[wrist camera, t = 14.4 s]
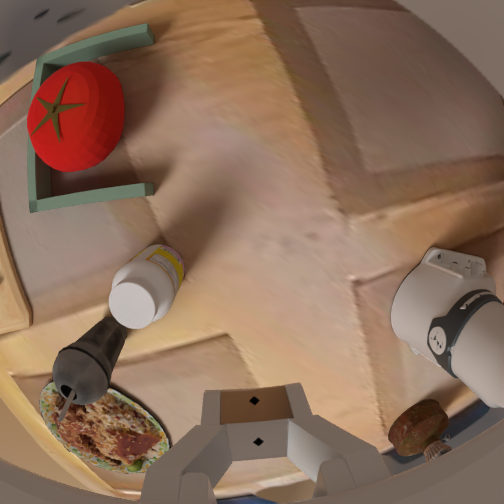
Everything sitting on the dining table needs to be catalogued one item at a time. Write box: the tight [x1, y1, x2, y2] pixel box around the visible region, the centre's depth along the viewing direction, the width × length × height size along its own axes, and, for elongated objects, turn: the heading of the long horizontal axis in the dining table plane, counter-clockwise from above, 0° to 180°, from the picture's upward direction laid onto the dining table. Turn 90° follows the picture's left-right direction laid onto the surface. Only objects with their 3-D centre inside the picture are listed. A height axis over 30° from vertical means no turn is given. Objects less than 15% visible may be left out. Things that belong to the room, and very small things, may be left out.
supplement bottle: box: [109, 245, 185, 329], centre depth 31 cm, size 7×7×13 cm
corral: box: [27, 23, 154, 213], centre depth 30 cm, size 18×23×4 cm
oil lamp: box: [388, 399, 451, 462], centre depth 31 cm, size 14×15×40 cm
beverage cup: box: [53, 317, 127, 422], centre depth 29 cm, size 7×7×20 cm
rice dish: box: [39, 381, 170, 474], centre depth 41 cm, size 28×28×5 cm
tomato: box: [27, 62, 125, 172], centre depth 27 cm, size 14×13×10 cm
